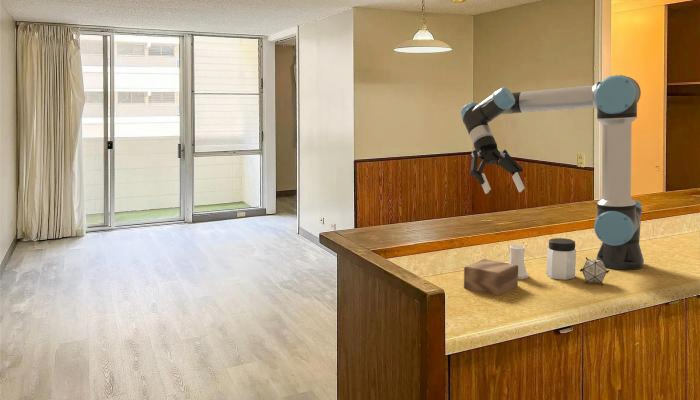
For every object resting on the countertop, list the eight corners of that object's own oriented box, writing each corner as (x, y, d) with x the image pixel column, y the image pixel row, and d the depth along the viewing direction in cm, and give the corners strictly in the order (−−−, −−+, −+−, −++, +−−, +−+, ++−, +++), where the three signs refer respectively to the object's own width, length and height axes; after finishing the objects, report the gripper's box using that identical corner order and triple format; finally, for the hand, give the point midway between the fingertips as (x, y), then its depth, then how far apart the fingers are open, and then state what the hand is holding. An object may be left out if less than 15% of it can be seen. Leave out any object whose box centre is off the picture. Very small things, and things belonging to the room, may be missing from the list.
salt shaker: (531, 278, 194) (532, 249, 192) (509, 279, 193) (509, 249, 192) (523, 272, 201) (524, 243, 200) (501, 273, 201) (502, 244, 199)
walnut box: (517, 287, 186) (518, 264, 185) (498, 296, 178) (499, 273, 176) (483, 279, 194) (484, 258, 193) (463, 288, 186) (464, 266, 185)
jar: (562, 281, 190) (563, 245, 188) (541, 275, 197) (542, 240, 195) (579, 276, 195) (581, 241, 193) (558, 271, 202) (560, 236, 200)
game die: (596, 293, 190) (615, 267, 190) (598, 291, 182) (618, 265, 182) (571, 276, 193) (590, 251, 193) (572, 274, 186) (591, 248, 185)
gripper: (507, 147, 218) (529, 195, 207) (448, 148, 209) (468, 198, 198) (518, 134, 212) (541, 183, 201) (457, 134, 203) (478, 185, 192)
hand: (505, 190), depth 200 cm, fingers open, 13 cm apart
